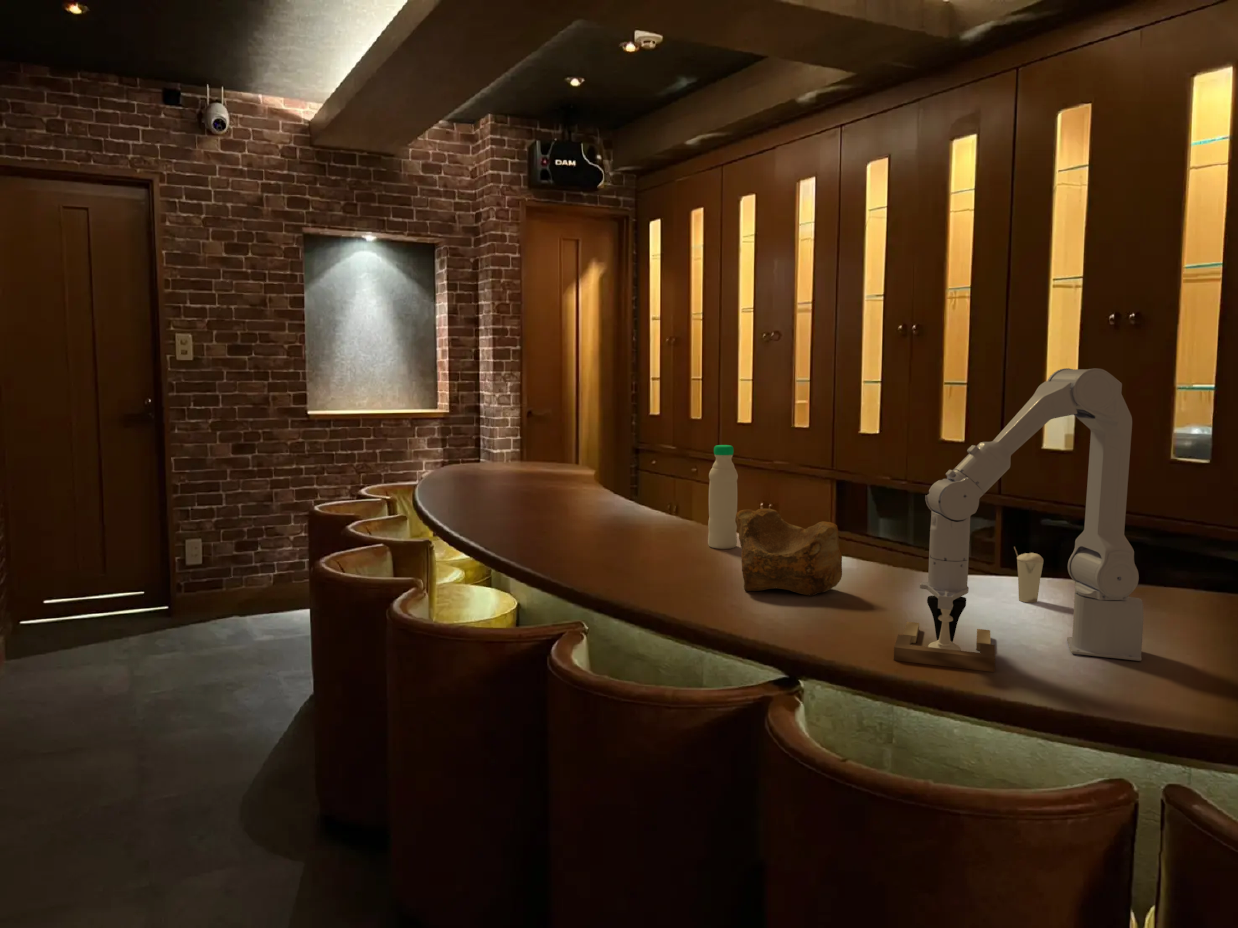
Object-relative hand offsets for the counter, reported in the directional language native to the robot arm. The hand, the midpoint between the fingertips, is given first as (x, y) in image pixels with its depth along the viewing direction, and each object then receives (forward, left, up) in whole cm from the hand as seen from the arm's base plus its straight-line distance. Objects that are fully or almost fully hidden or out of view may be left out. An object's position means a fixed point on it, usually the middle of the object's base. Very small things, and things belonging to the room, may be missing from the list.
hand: (944, 643), depth 139 cm
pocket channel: (0, -6, -1) cm, 6 cm away
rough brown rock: (+33, -29, -1) cm, 44 cm away
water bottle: (+54, -66, -1) cm, 85 cm away
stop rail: (0, +4, -1) cm, 4 cm away
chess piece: (0, +2, -1) cm, 2 cm away
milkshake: (-13, -38, -1) cm, 40 cm away
